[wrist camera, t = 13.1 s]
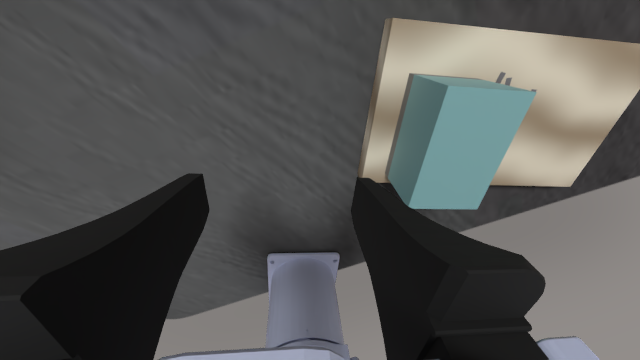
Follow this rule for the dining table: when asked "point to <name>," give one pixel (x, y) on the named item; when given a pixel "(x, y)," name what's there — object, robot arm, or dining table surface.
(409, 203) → the block
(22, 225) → the dining table surface
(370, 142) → the birch board
